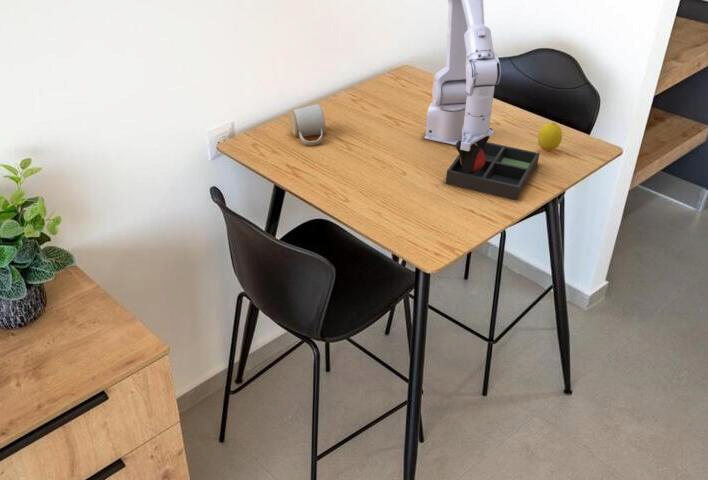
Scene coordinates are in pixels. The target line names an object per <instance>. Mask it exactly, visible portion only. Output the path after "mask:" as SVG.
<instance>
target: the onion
mask: <svg viewBox="0 0 708 480" xmlns="http://www.w3.org/2000/svg"><path fill="white" fill-rule="evenodd" d="M474 144H475V146H477V144H476V143H474ZM485 161H486V156H485V153H484V151H483V150H482V149H481V150H480V151H479V153H478V155H477V157H476V160H475V164H474V167H473V169H472V171H471V172H469V171H468V172H469V173H471V174H473V173H475V172H476V171H478V170H480V169H481V168H482V167H483V166H484V164H485ZM460 163H461V158H460ZM461 165H462V163H461Z"/></svg>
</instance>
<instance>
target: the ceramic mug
mask: <svg viewBox="0 0 708 480" xmlns="http://www.w3.org/2000/svg"><path fill="white" fill-rule="evenodd" d="M289 124H290V128H291V132H292V134H293V136H294V137H296V138H299V139H300V140H301V142H302V143H303V144H305V145H306V146H316V145H318V144H320V143H321V142H322V140H323V135H324V134H325V132H326V120H325V115H324V110H323V108H322V106H321V104H320V103H315V104H312V105H307V106H304V107H299V108H295V109H293V110H291V111H290V112H289ZM318 135H320V136H319V137H318V139H316V140H307V139H306V138H305V137H309V136H310V137H311V136H318Z"/></svg>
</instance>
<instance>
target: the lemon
mask: <svg viewBox="0 0 708 480" xmlns="http://www.w3.org/2000/svg"><path fill="white" fill-rule="evenodd" d="M562 139H563V129H562V128H561V126H560V125H559V124H557V123H556V122H554V121H551V122H547V123H545V124H544V125H542V126H541V128H540V130H539V132H538V137H537V142H538V145H539V147H540V148H541V149H542V150H543V151H545V152H547V153H548V152H551V151H554V150H556V149H558V147H559V146H560V145H561V142H562Z"/></svg>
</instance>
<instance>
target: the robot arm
mask: <svg viewBox="0 0 708 480" xmlns="http://www.w3.org/2000/svg"><path fill="white" fill-rule="evenodd" d="M447 3H448V4H447V5H448V8H447V10H448V11H447V12H448V13H447V33H446V56H445V57H446V58H445V66H443V67H442V68H441V69H440V70H439V71H437V72H436V73H435V74H434V76H433V83H432V87H431V88H432V91H431V92H432V93H431V94H432V95H431V96H432V101H431V102H430V104H429V107H428V109H427V114H426V123H425V124H426V125H425V136H424V139H425V140H428V141H429V140H430V141H434V142H439V143H444V144H447V145H452V146H455V148H456V150H457V152H458V155H459V154H460V157H461V163H462V169H463V170H464V171H469V172H471V171H472V169H473V167H474V164H475V160H476V157H477V155H478V153H479V151H480V150H481V149H482V150H483V151H484V148H485V146H486V143H487V142H489V139H490V137H493V135H494V133H495V130H494V129H493V128H491V127H490V125H491V116H492V109H493V102H494V94H495V85H496V86H497V85H499V83H500V81H501V73H502V70H501V69H502V68H501V62H500V59H499V58H498V55H497V53H496V52H494V51H495V50H494V43H493V39H492V38H493V37H492V32H491V31H492V30H491V29H490V28H489V27H488V26H487V25H485V10H484V0H447ZM474 143H476V144H477V146H475V144H474Z"/></svg>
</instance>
